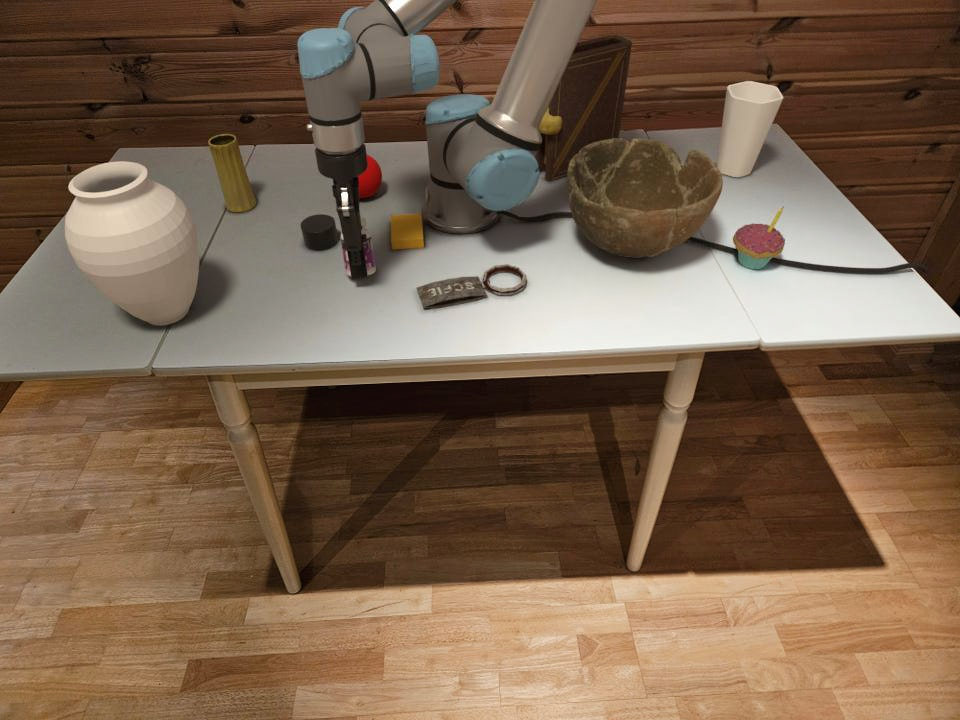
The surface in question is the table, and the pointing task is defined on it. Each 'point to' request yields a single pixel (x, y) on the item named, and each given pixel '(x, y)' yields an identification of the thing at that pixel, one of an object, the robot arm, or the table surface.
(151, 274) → the vase
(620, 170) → the bowl
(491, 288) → the keychain
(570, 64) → the book
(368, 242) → the pill bottle
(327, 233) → the metal tin
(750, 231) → the cupcake
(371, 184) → the ornament
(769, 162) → the table surface
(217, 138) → the vase
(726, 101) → the cup
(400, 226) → the orange rectangular block
